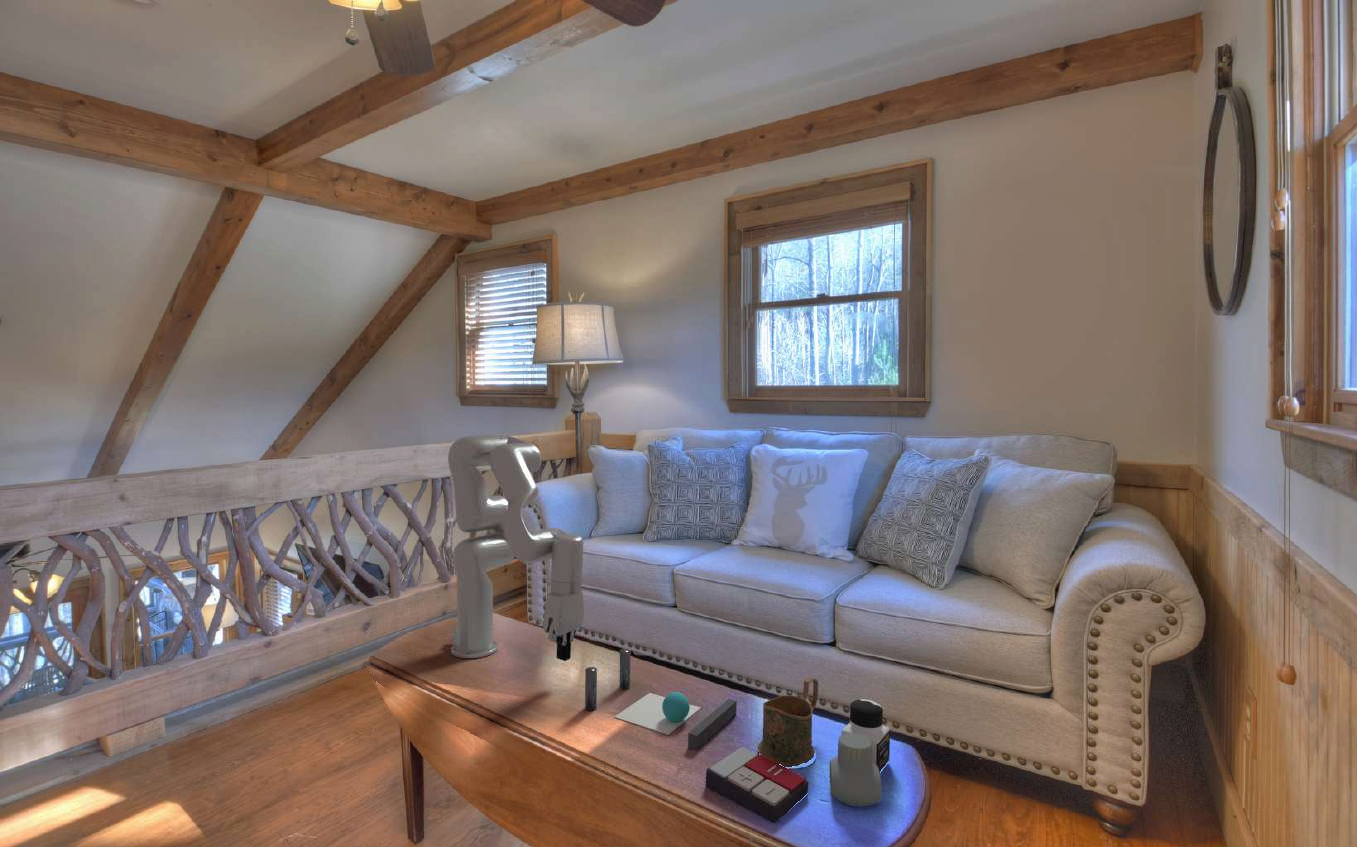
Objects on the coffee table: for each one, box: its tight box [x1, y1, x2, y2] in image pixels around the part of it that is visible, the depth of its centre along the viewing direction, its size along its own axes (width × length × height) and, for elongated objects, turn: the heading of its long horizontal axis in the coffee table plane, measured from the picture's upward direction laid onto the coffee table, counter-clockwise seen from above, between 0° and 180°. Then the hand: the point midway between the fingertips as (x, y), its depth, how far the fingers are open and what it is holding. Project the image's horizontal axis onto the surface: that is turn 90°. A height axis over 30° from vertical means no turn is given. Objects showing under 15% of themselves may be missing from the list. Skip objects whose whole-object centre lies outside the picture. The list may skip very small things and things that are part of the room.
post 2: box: [619, 648, 632, 691], centre depth 156 cm, size 3×3×9 cm
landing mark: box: [613, 692, 702, 736], centre depth 143 cm, size 14×14×1 cm
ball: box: [662, 691, 691, 722], centre depth 140 cm, size 6×6×6 cm
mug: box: [757, 677, 819, 767], centre depth 129 cm, size 12×18×12 cm, turn 140°
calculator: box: [704, 746, 809, 824], centre depth 114 cm, size 11×4×15 cm
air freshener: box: [829, 733, 883, 807], centre depth 113 cm, size 11×8×10 cm
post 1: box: [584, 666, 598, 712], centre depth 145 cm, size 3×3×9 cm
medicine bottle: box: [840, 698, 891, 772], centre depth 123 cm, size 7×7×12 cm
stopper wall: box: [687, 698, 738, 751], centre depth 136 cm, size 2×18×3 cm, turn 149°
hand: (563, 658), depth 158 cm, fingers closed
